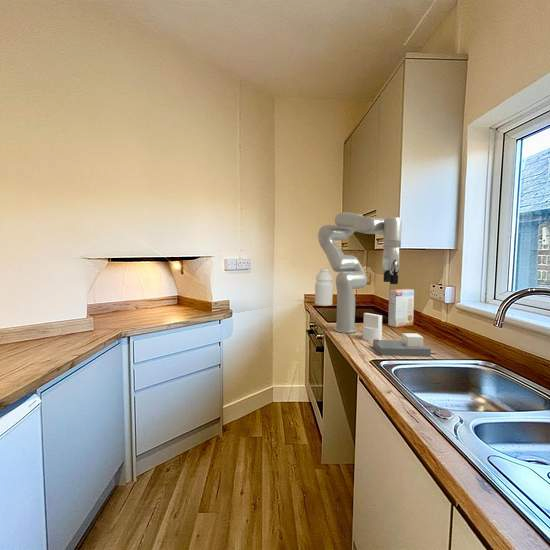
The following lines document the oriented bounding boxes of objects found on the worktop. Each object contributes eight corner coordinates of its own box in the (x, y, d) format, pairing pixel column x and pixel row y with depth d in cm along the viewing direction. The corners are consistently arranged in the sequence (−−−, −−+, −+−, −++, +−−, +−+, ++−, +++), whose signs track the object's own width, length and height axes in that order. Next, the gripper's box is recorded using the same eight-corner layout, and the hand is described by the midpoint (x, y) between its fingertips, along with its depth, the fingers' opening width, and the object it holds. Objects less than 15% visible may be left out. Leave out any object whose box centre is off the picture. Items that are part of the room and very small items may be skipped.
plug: (402, 347, 148) (402, 333, 147) (416, 348, 148) (417, 333, 147) (407, 352, 142) (407, 337, 141) (422, 352, 141) (423, 337, 141)
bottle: (312, 303, 270) (312, 268, 268) (328, 302, 273) (329, 268, 271) (318, 306, 256) (319, 269, 254) (335, 305, 260) (336, 269, 258)
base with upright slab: (358, 338, 165) (359, 314, 164) (370, 335, 171) (370, 312, 170) (374, 342, 158) (374, 317, 157) (385, 339, 164) (386, 315, 163)
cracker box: (405, 323, 200) (406, 288, 198) (413, 325, 194) (415, 289, 192) (387, 325, 193) (388, 289, 192) (395, 327, 188) (396, 290, 186)
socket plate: (372, 346, 152) (373, 338, 151) (417, 347, 151) (418, 338, 151) (381, 355, 139) (381, 346, 138) (430, 356, 138) (431, 347, 138)
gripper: (378, 245, 161) (376, 281, 162) (389, 244, 143) (387, 284, 145) (393, 245, 160) (392, 281, 162) (407, 244, 143) (405, 285, 144)
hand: (390, 282), depth 153 cm, fingers open, 9 cm apart
